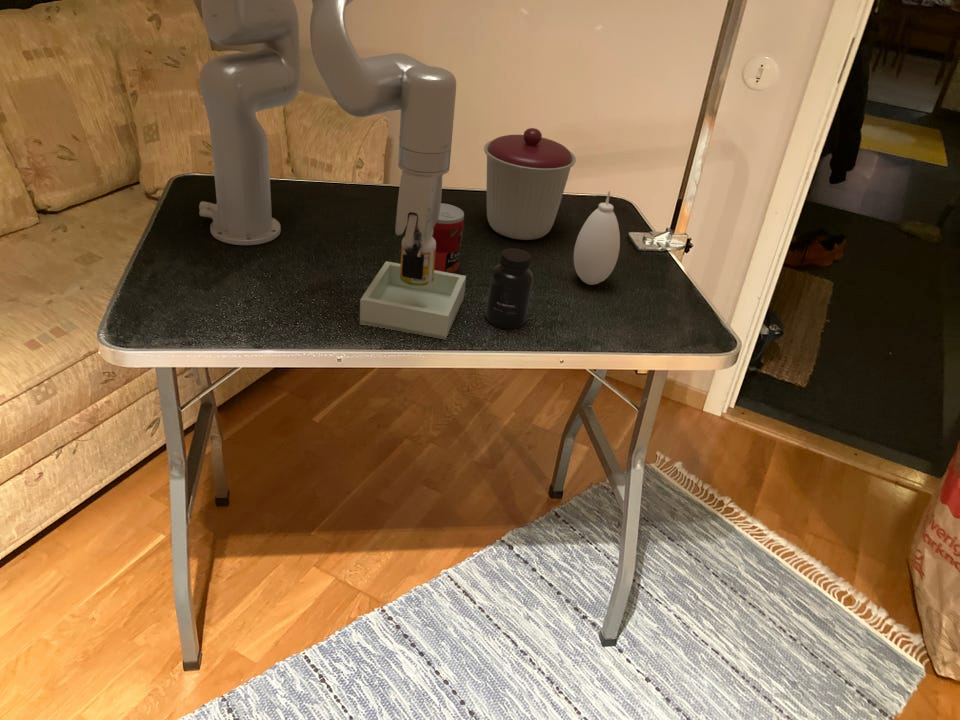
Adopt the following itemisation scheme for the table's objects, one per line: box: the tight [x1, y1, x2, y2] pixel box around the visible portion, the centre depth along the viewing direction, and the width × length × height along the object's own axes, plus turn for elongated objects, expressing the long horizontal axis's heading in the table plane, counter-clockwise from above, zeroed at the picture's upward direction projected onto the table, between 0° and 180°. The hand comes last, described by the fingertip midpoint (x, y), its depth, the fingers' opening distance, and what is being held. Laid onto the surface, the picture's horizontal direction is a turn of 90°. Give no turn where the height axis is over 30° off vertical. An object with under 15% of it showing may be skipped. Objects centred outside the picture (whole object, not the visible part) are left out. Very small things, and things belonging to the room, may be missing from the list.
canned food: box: [433, 202, 465, 274], centre depth 134 cm, size 8×8×11 cm
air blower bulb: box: [573, 190, 621, 286], centre depth 134 cm, size 8×8×18 cm
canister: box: [483, 127, 577, 241], centre depth 149 cm, size 18×18×21 cm
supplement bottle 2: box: [485, 247, 534, 330], centre depth 121 cm, size 7×7×12 cm
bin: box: [359, 260, 467, 341], centre depth 122 cm, size 14×14×4 cm
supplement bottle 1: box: [400, 229, 436, 289], centre depth 117 cm, size 5×5×10 cm
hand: (417, 267), depth 119 cm, fingers closed on supplement bottle 1, 5 cm apart
